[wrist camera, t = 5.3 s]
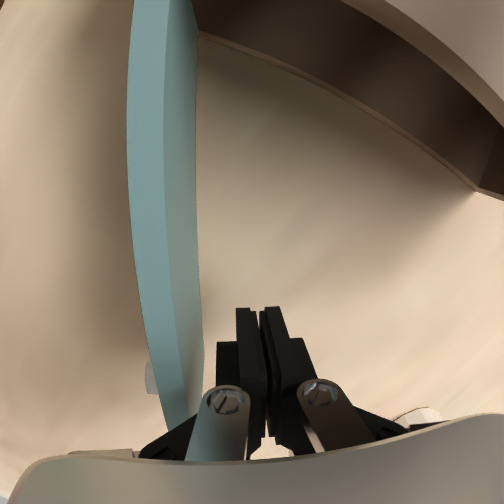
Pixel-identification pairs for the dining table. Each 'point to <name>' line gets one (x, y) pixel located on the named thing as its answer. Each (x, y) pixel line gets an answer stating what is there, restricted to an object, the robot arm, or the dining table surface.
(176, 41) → the door
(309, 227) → the dining table surface
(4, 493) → the dining table surface
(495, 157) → the bread box
